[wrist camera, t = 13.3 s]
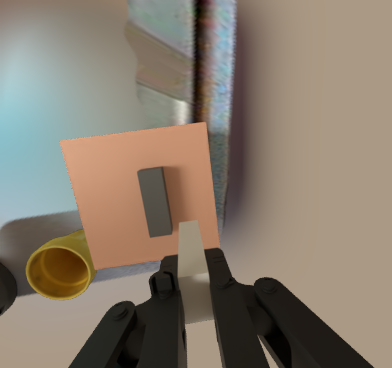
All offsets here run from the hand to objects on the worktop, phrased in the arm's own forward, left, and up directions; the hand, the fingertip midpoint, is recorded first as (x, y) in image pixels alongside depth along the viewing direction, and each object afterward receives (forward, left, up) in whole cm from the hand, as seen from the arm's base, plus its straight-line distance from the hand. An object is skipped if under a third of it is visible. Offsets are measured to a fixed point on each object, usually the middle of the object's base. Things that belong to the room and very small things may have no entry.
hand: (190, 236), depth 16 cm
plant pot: (-23, -11, -25) cm, 36 cm away
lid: (-6, 0, -14) cm, 15 cm away
